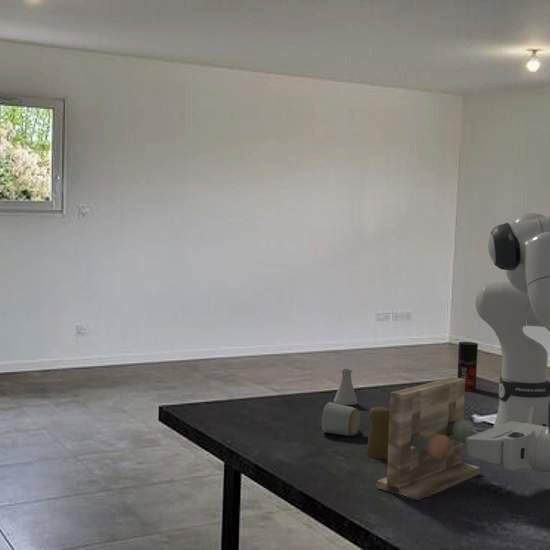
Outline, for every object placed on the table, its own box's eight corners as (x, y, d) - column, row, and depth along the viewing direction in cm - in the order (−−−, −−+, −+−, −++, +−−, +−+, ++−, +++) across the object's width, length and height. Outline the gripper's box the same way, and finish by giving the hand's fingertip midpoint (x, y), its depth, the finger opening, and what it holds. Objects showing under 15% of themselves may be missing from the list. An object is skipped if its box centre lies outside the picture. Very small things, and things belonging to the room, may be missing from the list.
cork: (364, 450, 188) (366, 404, 187) (390, 451, 188) (392, 405, 187) (366, 458, 182) (368, 410, 181) (393, 458, 182) (395, 411, 181)
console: (479, 474, 172) (484, 382, 171) (418, 500, 155) (422, 399, 153) (439, 463, 179) (443, 375, 178) (376, 487, 162) (379, 390, 160)
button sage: (473, 440, 170) (473, 419, 170) (461, 444, 167) (462, 423, 166) (443, 433, 175) (444, 413, 175) (432, 437, 172) (433, 416, 171)
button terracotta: (449, 456, 158) (450, 434, 158) (437, 461, 155) (438, 438, 154) (418, 448, 163) (419, 426, 163) (406, 453, 160) (407, 430, 159)
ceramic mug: (350, 440, 196) (352, 409, 196) (320, 435, 200) (321, 404, 199) (365, 430, 206) (366, 401, 205) (335, 426, 209) (337, 397, 209)
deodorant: (475, 387, 262) (477, 342, 261) (475, 391, 256) (477, 345, 255) (457, 386, 263) (459, 341, 262) (456, 390, 257) (458, 344, 256)
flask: (334, 399, 240) (335, 366, 239) (358, 401, 239) (359, 367, 238) (332, 405, 232) (333, 371, 232) (357, 406, 231) (358, 372, 231)
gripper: (553, 421, 166) (492, 409, 176) (507, 440, 151) (443, 425, 161) (552, 451, 167) (491, 437, 176) (506, 472, 152) (442, 456, 161)
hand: (468, 432), depth 168 cm, fingers closed, pressing on button sage
